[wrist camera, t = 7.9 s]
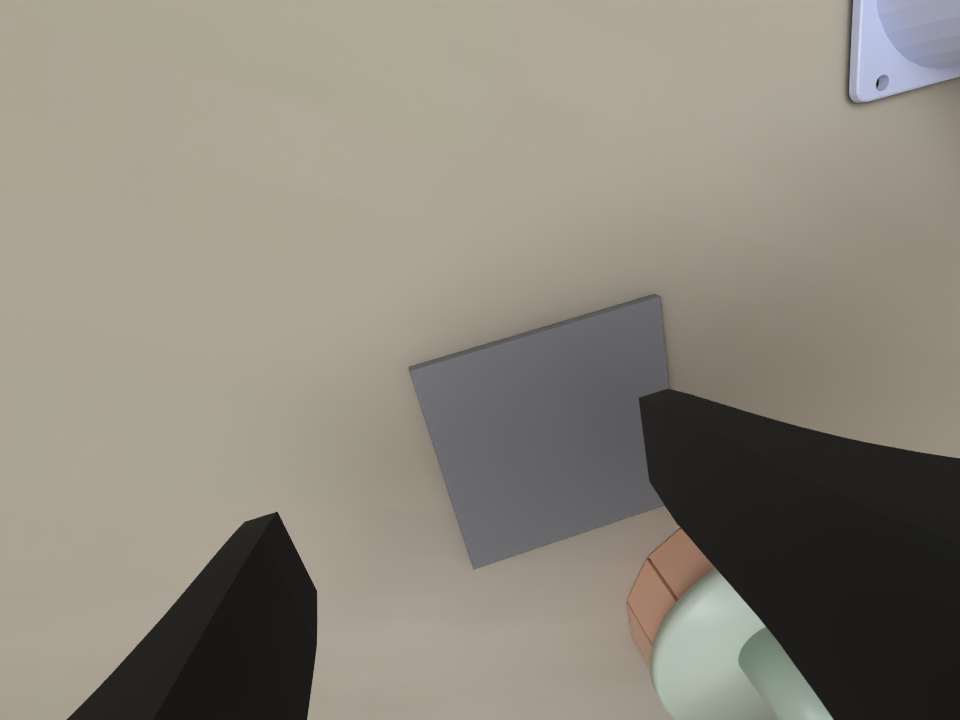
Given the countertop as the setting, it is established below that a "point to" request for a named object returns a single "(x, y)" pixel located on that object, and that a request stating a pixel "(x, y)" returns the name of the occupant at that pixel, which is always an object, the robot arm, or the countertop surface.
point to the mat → (546, 428)
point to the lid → (725, 661)
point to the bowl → (663, 587)
